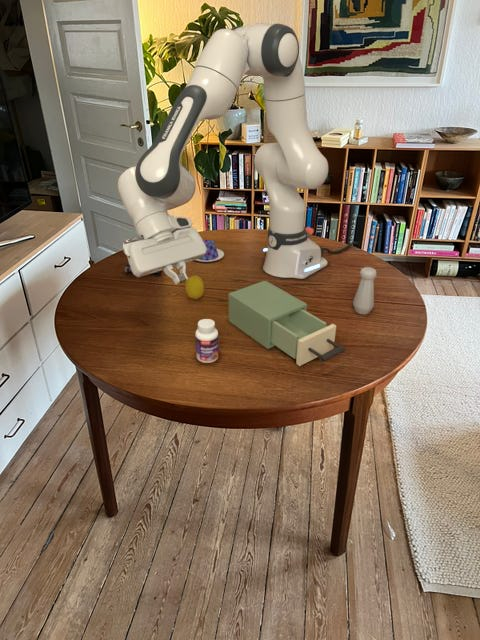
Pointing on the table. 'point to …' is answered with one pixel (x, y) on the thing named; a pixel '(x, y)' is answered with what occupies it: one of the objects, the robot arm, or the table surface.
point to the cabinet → (261, 309)
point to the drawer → (305, 337)
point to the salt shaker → (365, 291)
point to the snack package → (128, 268)
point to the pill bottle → (207, 341)
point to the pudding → (211, 252)
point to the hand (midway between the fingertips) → (181, 282)
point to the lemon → (194, 287)
